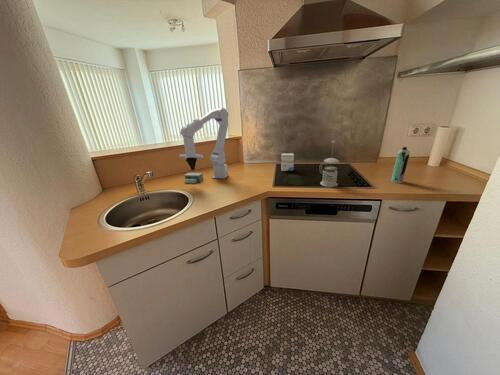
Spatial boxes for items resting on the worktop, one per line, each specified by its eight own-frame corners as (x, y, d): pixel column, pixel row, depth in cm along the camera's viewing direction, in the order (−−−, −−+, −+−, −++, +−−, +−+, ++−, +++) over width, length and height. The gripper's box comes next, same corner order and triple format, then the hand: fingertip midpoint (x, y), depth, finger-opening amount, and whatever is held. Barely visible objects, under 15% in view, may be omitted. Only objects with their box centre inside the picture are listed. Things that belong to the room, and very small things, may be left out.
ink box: (292, 168, 149) (293, 153, 145) (293, 170, 145) (294, 154, 140) (281, 168, 150) (281, 153, 146) (281, 170, 146) (281, 154, 141)
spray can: (404, 183, 115) (413, 147, 107) (393, 182, 116) (401, 147, 109) (399, 179, 120) (408, 146, 112) (389, 179, 121) (397, 146, 113)
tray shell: (199, 180, 134) (199, 176, 133) (195, 183, 129) (194, 179, 128) (190, 179, 136) (189, 176, 135) (185, 182, 130) (184, 179, 129)
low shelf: (203, 179, 135) (202, 173, 134) (199, 182, 131) (198, 175, 129) (189, 178, 137) (188, 172, 136) (185, 181, 133) (184, 175, 131)
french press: (331, 188, 112) (336, 142, 103) (314, 182, 121) (317, 140, 112) (341, 183, 118) (347, 140, 108) (324, 179, 126) (328, 138, 117)
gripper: (175, 148, 117) (179, 171, 122) (198, 149, 114) (201, 172, 119) (181, 146, 123) (185, 168, 128) (203, 146, 120) (206, 168, 125)
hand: (193, 169), depth 124 cm, fingers closed
